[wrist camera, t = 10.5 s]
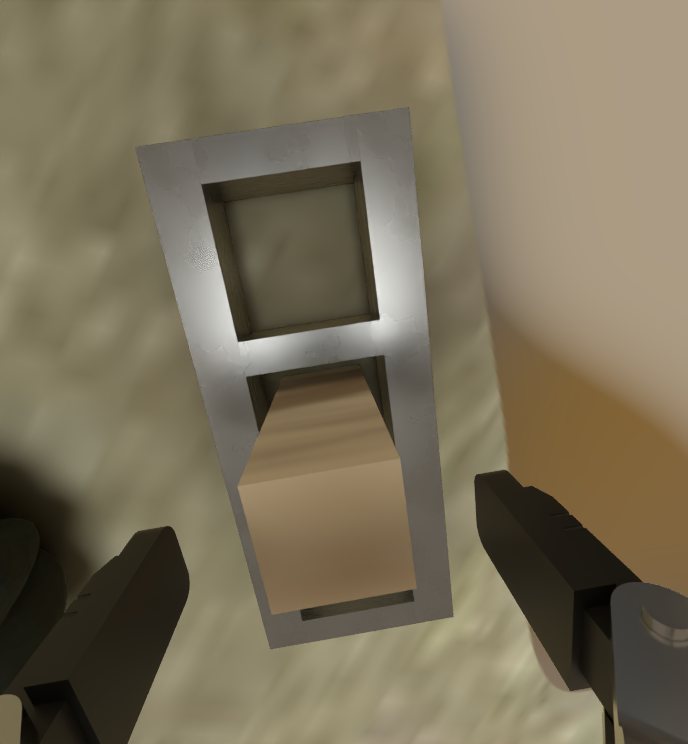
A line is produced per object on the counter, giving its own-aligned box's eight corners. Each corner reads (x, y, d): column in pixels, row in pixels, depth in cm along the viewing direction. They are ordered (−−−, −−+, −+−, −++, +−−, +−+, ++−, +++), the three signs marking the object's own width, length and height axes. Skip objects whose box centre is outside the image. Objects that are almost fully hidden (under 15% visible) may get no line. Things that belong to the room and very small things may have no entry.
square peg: (282, 376, 18) (237, 486, 8) (358, 364, 18) (400, 458, 8) (297, 446, 19) (271, 614, 9) (369, 433, 19) (416, 588, 10)
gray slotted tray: (169, 172, 15) (134, 146, 13) (392, 139, 16) (409, 106, 13) (277, 600, 22) (270, 649, 19) (435, 572, 22) (453, 616, 19)
